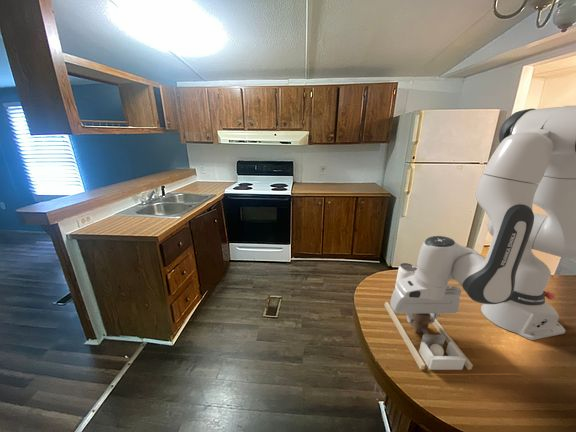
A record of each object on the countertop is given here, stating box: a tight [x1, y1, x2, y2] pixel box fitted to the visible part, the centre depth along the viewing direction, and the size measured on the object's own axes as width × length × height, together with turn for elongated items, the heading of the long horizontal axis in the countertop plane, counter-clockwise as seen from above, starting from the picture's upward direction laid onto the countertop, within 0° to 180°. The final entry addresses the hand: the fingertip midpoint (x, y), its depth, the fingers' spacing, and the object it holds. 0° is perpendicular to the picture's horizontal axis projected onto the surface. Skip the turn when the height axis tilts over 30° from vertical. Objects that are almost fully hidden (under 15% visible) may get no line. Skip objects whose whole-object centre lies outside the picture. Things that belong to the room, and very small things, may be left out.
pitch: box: [384, 301, 474, 371], centre depth 75 cm, size 14×25×3 cm, turn 0°
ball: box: [430, 344, 445, 356], centre depth 67 cm, size 4×4×4 cm
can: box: [394, 262, 417, 289], centre depth 94 cm, size 6×6×12 cm
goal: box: [418, 341, 466, 371], centre depth 65 cm, size 9×6×4 cm, turn 90°
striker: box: [409, 314, 446, 349], centre depth 73 cm, size 6×10×7 cm, turn 0°
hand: (419, 321), depth 75 cm, fingers open, 5 cm apart
